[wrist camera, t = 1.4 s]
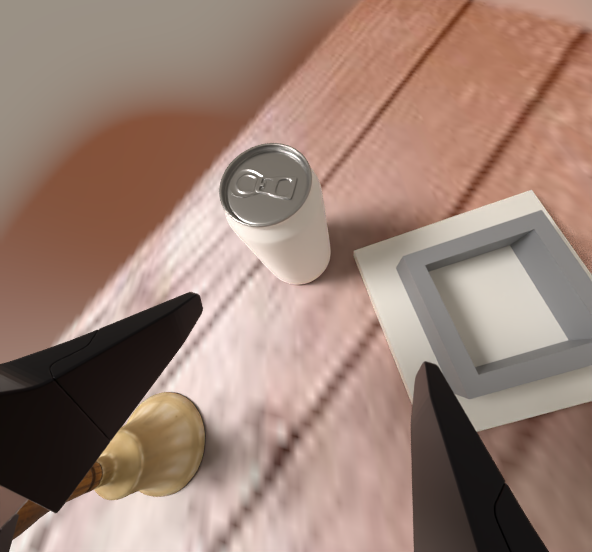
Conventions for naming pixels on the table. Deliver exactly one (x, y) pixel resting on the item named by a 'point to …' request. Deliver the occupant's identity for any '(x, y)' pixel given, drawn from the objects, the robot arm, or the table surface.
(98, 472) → the hand bell
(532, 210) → the socket board
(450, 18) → the table surface
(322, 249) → the can
